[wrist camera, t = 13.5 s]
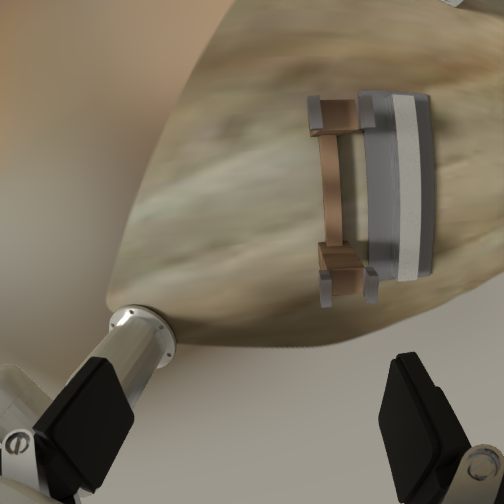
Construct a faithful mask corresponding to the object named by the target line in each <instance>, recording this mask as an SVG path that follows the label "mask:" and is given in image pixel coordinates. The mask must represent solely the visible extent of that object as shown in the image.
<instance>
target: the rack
mask: <svg viewBox="0 0 504 504" xmlns="http://www.w3.org/2000/svg"><path fill="white" fill-rule="evenodd" d="M306 103H307V112H308V121H309V130H310V136H311V137H317V136H318V138H319V148H320V159H321V172H322V185H323V201H324V219H325V242H321V243H318V251H319V266H320V269H321V270H320V271H319V297H320V302H321V307H322V308H326V307H332V296H336V295H348V294H360V293H363V295H364V297H365V299H366V301H367V303H368V304H373V303H377V300H378V285H379V275H378V274H377V272H376V271H375V269H374V268H373V267H364V266H363V264H362V263H361V261H360V259H359V258H358V256H357V255H356V253H355V252H354V250H353V249H352V247H351V246H350V244H349V243H348V241H342V209H341V189H340V173H339V160H338V148H337V137H336V136H342V135H344V134H347V133H350V132H353V131H356V130H359V129H371V128H375V117H374V109H373V101H372V95H361V96H359V97H358V98H357V99H355V100H320V96H319V95H318V96H308V97H307V100H306Z"/></svg>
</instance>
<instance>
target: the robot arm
mask: <svg viewBox="0 0 504 504" xmlns="http://www.w3.org/2000/svg"><path fill="white" fill-rule="evenodd" d="M175 352H176V339H175V336H174V334H173V332H172V330H171V328H170V326H169V325H168V324H167V323H166V321H165V320H164V319H162V318H161V317H160V316H159V315H158V314H156V313H155V312H153V311H151V310H149V309H148V308H145V307H142V306H136V305H128V306H124V307H122V308H120V309H118V310H117V311H116V312H115V313H114V315H113V316H112V317H111V320H110V324H109V334H108V335H107V336H106V337H105V338H104V339H103V340H102V341H101V343H100V344H99V345H98V346H97V347H96V348H95V349H94V350H93V351H92V353H91V354H90V355H89V356H88V357H87V358H86V360H85V361H84V362H83V363H82V364H81V365H80V366H79V367H78V369H77V370H76V371H75V372H74V373H73V374H72V376H71V377H70V378H69V380H68V381H67V384H66V386H65V388H64V389H63V390H62V391H61V392H60V394H59V395H58V396H57V397H56V399H55V400H54V401H53V400H52V399H51V398H50V397H49V396H48V395H47V394H46V393H45V392H44V391H43V390H42V389H41V388H40V387H39V386H38V385H37V384H36V383H35V382H34V381H33V380H32V379H31V378H30V377H29V376H28V375H27V374H26V373H25V372H24V371H23V370H22V369H21V368H19V367H18V366H16V365H13V364H6V365H3V366H1V367H0V443H1V444H2V449H0V504H81V501H80V497H87V496H90V495H92V494H94V493H95V492H96V491H97V490H98V488H99V487H101V485H102V483H103V481H104V479H105V477H106V475H107V473H108V471H109V469H110V467H111V465H112V463H113V461H114V460H115V458H116V456H117V454H118V452H119V449H120V448H121V446H122V444H123V442H124V440H125V438H126V436H127V434H128V432H129V430H130V429H131V427H132V425H133V423H134V414H133V411H132V410H133V408H134V407H135V405H136V403H137V401H138V400H139V398H140V396H141V394H142V392H143V391H144V389H145V387H146V385H147V384H148V382H149V380H150V378H151V377H152V375H153V373H154V371H155V370H156V368H161V367H164V366H166V365H167V364H169V363H170V361H171V360H172V359H173V357H174V355H175ZM378 420H379V427H380V430H381V434H382V437H383V441H384V444H385V448H386V452H387V456H388V460H389V464H390V467H391V472H392V476H393V480H394V484H395V488H396V492H397V497H398V501H399V502H400V503H404V504H504V456H503V454H502V453H501V451H500V450H498V449H497V448H496V447H494V446H491V445H486V444H481V445H476V446H474V447H472V446H471V445H470V442H469V440H468V438H467V436H466V434H465V432H464V430H463V428H462V426H461V424H460V423H459V421H458V419H457V417H456V415H455V413H454V411H453V409H452V407H451V405H450V404H449V402H448V400H447V398H446V396H445V395H444V393H443V391H442V390H441V388H440V387H437V386H436V387H435V385H434V383H433V381H432V380H431V378H430V376H429V374H428V373H427V371H426V369H425V367H424V366H423V364H422V362H421V361H420V359H419V357H418V355H417V354H416V353H415V352H408V353H402V354H398V355H397V356H396V359H393V360H392V361H391V364H390V369H389V374H388V379H387V383H386V388H385V392H384V396H383V400H382V405H381V408H380V412H379V418H378Z"/></svg>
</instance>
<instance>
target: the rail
mask: <svg viewBox="0 0 504 504" xmlns="http://www.w3.org/2000/svg"><path fill="white" fill-rule="evenodd" d="M385 103H386V111H387V120H388V129H389V140H390V153H391V169H392V197H393V235H392V263H391V274H392V275H393V277H394V278H395V279H396V280H397V282H400V281H410V280H417V276H418V265H419V251H420V232H421V169H420V150H419V137H418V126H417V117H416V108H415V101H414V96H410V95H395V94H392V95H390V96H388V97H386V98H385Z"/></svg>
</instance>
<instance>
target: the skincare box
mask: <svg viewBox="0 0 504 504" xmlns="http://www.w3.org/2000/svg"><path fill="white" fill-rule="evenodd" d="M441 1H443V2H445V3H447V4H449V5H451V6H453V7H457V6H458V5H459V4H460V3H461V2H462V1H464V0H441Z"/></svg>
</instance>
